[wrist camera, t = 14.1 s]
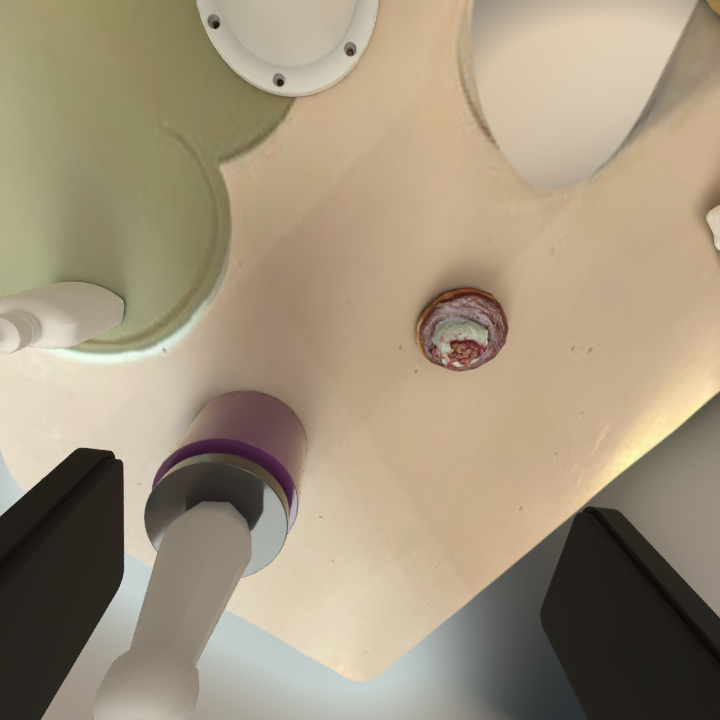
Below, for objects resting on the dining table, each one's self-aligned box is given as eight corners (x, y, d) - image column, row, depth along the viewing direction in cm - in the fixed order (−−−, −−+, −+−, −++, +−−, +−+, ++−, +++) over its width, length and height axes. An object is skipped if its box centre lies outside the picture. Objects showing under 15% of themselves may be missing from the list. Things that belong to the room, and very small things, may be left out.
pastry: (407, 361, 40) (416, 380, 35) (424, 278, 38) (435, 288, 33) (492, 372, 41) (512, 393, 36) (513, 292, 38) (537, 303, 34)
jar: (167, 453, 42) (106, 537, 31) (233, 367, 40) (192, 426, 29) (263, 512, 44) (237, 608, 34) (330, 435, 42) (326, 512, 31)
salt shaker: (237, 568, 32) (172, 787, 20) (162, 539, 31) (45, 751, 19) (271, 509, 31) (225, 705, 18) (194, 476, 30) (91, 661, 17)
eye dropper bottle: (104, 343, 38) (4, 397, 27) (48, 297, 37) (-83, 334, 26) (135, 308, 37) (45, 349, 26) (79, 260, 36) (-42, 281, 25)
